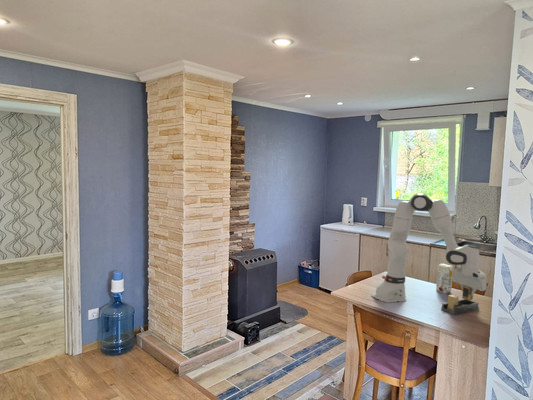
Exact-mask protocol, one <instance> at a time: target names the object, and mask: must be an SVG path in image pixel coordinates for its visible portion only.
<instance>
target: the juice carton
mask: <svg viewBox="0 0 533 400" xmlns="http://www.w3.org/2000/svg"><path fill="white" fill-rule="evenodd" d="M436 272H437V273H436V285H435V288H436V292H440V293H443V294H449V293H451V291H452V286H453V285H452V284H453V280H452V279H453V274H454V266H453V265H452V264H446V263H440V264H437V271H436Z"/></svg>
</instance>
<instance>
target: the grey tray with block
mask: <svg viewBox="0 0 533 400" xmlns="http://www.w3.org/2000/svg"><path fill="white" fill-rule="evenodd" d="M479 309H480V307H479V302H477V301H475V300H466V299H463V298H462V299H460V297H459V296H457V295H455V294H449V295H448V296H447V302H444V303H441V309H440V310H442V311H443V312H446V313H448V314H451V315H452V316H458V315H462V314H465V313H470V312H474V311H479Z"/></svg>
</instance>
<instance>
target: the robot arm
mask: <svg viewBox="0 0 533 400" xmlns="http://www.w3.org/2000/svg"><path fill="white" fill-rule="evenodd" d="M416 211H418V212H427V213H428V214H429V216H430V217H429V218H430V219H431V223H432V225H433V227H434V228H435V230H437V231H438V232H439V233H440V234H441V235H442V238H443V240H444V243H445V246H446V247H445V249H446V250H445V260H446V261H447V263H449V265H451V266H453V265H455V266H459V265H460V266H461V268H459V267H455V268H453V275H452V283H453V282H454V283H456V284H459V285H460V288H461V292H462V293H463V286H468V287H471V288H472V290H473V291H471V292H470V294H471V295H473V296H474V295H475V292H476V291H480V292H484V291H486V290H487V285H488V284H487V279H486V278H487V274H486V272H483V271H482V270H480V269H479V262H480V250H479V248H478V247H477V246H475V245H473V244H468V243H467V244H464V245H462V246H460V245H458V244H457V241H456V238H455V236H454V233H453V222H452V217H451V213H450V211H449V209H448V207H447V205H446V203H445V202H444V200H443V199H438V198H437V199H430V198H429V196H428V195H427V194H425V193H423V192H418V193H415V194H413V196H412V197H411V198H410V199H409V200H408V201H407V200H403V201H400V202H398V203H397V206H396V208H395V210H394V212H395V213H394V215H393V216H394V217H393V221H392V227H391V231H390V233H389V238H388V242H387V247H388V250H389V257H388V262H387V269H386V270H387V272H386V275H382V276H381V278H382V279H383V281H382V282H381V283H380V284H379V285H378V286H377V287H376V289H375V292H374V293H372V294H371V296H372V298H374V297H375V298H377V299H379V300H378V301H380V300H382V301H381V302H383V301H385V302H384V303H397V301H399V302H406V301H407V297H406V287H405V283H406V265H407V259H408V254H409V249H410V248H409V245H408V243H407V239H408V236H409V233H411V227H412V223H413V217H414V214H415V212H416ZM375 298H374V299H375ZM377 299H376V300H377Z"/></svg>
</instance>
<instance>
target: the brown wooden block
mask: <svg viewBox="0 0 533 400" xmlns="http://www.w3.org/2000/svg"><path fill="white" fill-rule="evenodd" d="M471 291H473V290H472V288H471V287H468V286H463V292H462V299H466V300H471V301H474V300H473V299H474V295H471V294H470V292H471Z"/></svg>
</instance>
